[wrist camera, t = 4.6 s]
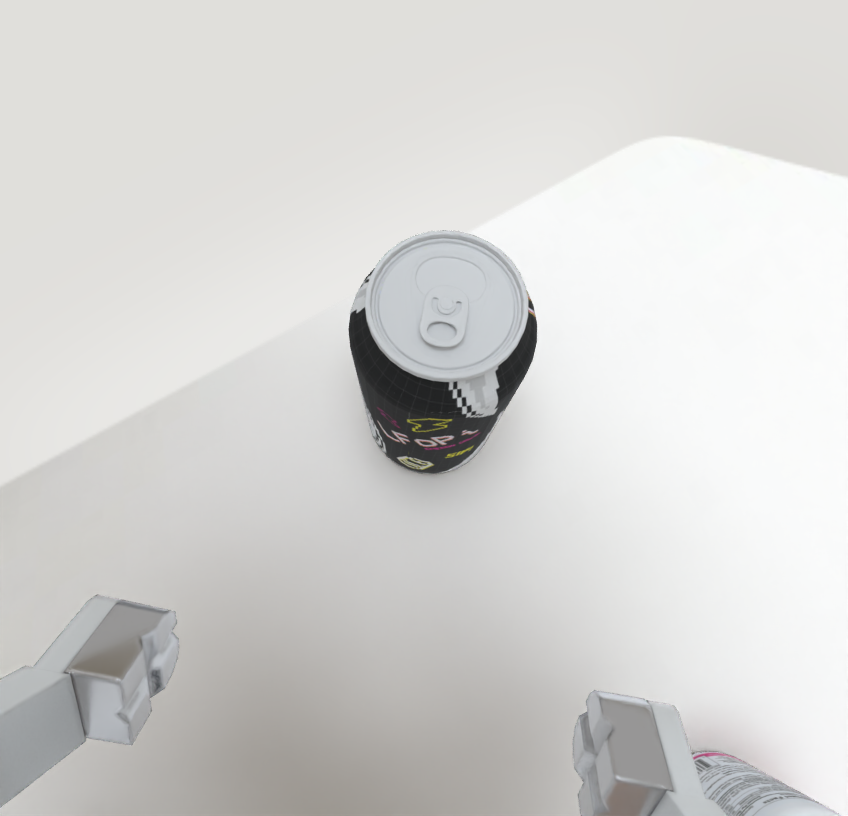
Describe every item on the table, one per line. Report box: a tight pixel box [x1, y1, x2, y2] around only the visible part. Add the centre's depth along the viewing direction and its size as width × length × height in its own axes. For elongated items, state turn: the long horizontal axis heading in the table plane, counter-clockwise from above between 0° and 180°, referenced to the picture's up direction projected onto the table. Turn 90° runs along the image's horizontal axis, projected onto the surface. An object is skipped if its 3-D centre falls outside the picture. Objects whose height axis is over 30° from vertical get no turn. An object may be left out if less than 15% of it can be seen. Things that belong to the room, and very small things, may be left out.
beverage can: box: [349, 230, 537, 474], centre depth 21 cm, size 6×6×12 cm
